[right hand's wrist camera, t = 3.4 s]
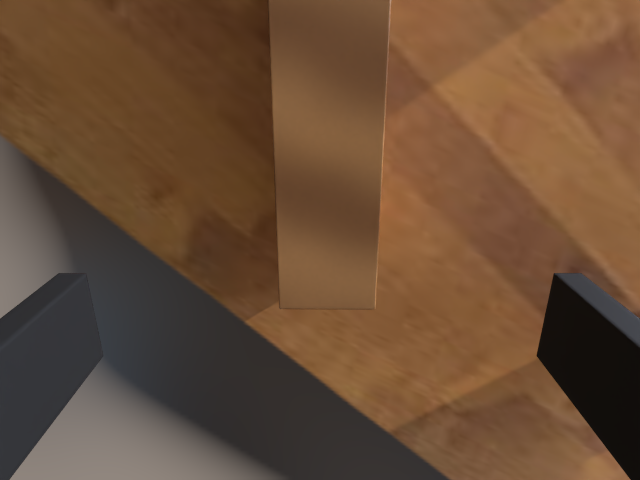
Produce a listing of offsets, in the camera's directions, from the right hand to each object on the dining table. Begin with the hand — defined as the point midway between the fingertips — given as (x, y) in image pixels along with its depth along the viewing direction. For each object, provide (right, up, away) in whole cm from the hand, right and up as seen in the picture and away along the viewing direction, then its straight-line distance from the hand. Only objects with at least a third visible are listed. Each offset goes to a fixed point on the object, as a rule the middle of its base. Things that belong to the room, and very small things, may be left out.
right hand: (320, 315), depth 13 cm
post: (0, +34, +5) cm, 34 cm away
